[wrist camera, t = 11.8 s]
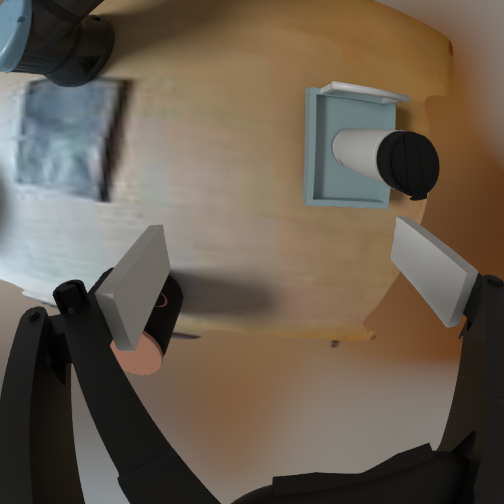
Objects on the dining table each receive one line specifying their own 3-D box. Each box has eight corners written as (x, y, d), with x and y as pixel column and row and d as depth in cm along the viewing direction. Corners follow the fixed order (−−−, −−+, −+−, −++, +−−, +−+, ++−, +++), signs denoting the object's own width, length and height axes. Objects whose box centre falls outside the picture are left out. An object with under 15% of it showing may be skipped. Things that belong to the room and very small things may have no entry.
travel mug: (334, 171, 41) (393, 205, 23) (327, 130, 38) (386, 133, 20) (370, 167, 40) (444, 197, 22) (364, 126, 38) (440, 131, 20)
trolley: (302, 92, 39) (321, 79, 28) (381, 102, 39) (418, 98, 28) (300, 197, 47) (316, 220, 35) (374, 200, 47) (407, 223, 35)
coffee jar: (183, 270, 52) (157, 332, 36) (185, 314, 57) (166, 379, 41) (132, 265, 52) (92, 321, 36) (138, 309, 57) (108, 368, 40)
